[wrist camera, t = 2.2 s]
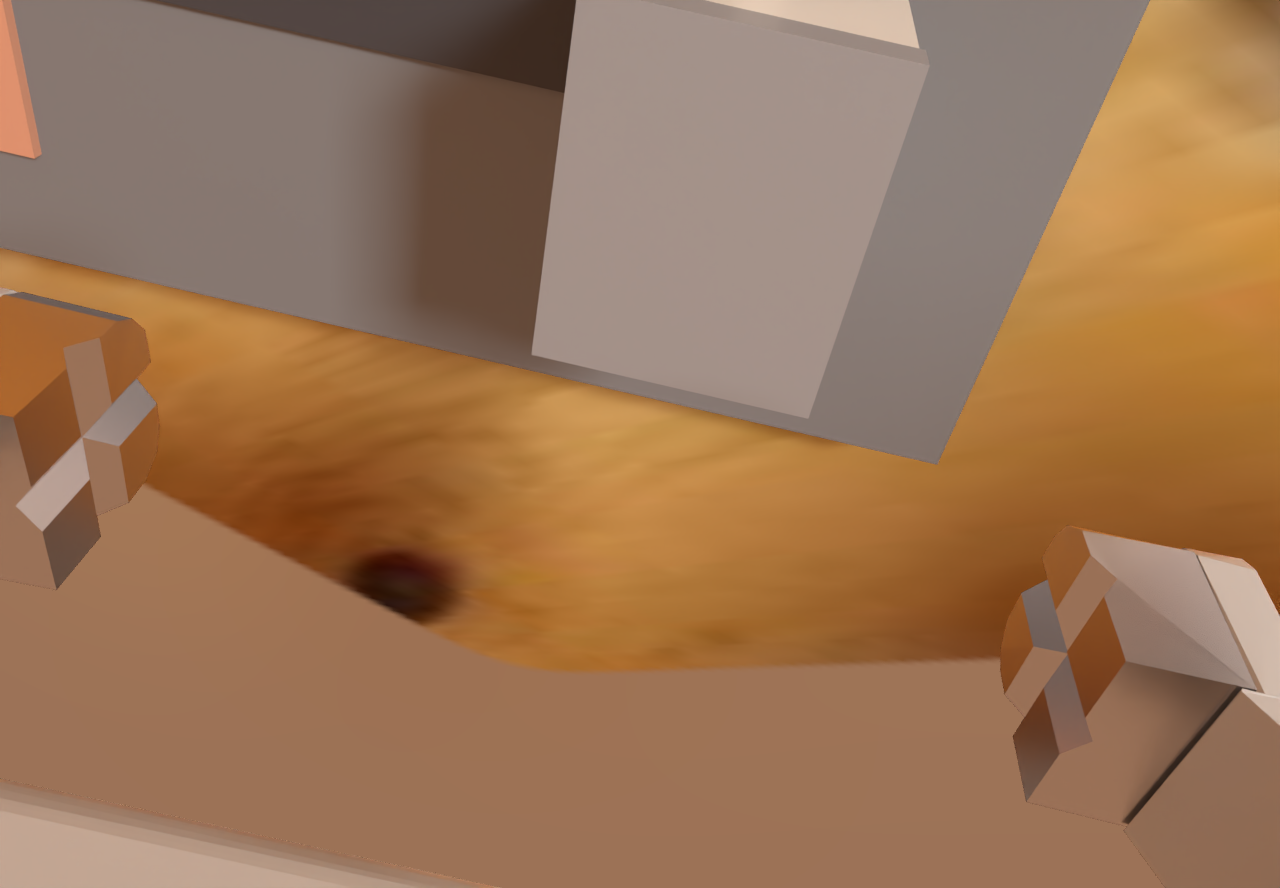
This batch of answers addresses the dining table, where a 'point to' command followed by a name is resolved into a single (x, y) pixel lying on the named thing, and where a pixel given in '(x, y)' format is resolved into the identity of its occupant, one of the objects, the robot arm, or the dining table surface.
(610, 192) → the fader knob
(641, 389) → the console board
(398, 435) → the dining table surface
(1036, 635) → the robot arm
